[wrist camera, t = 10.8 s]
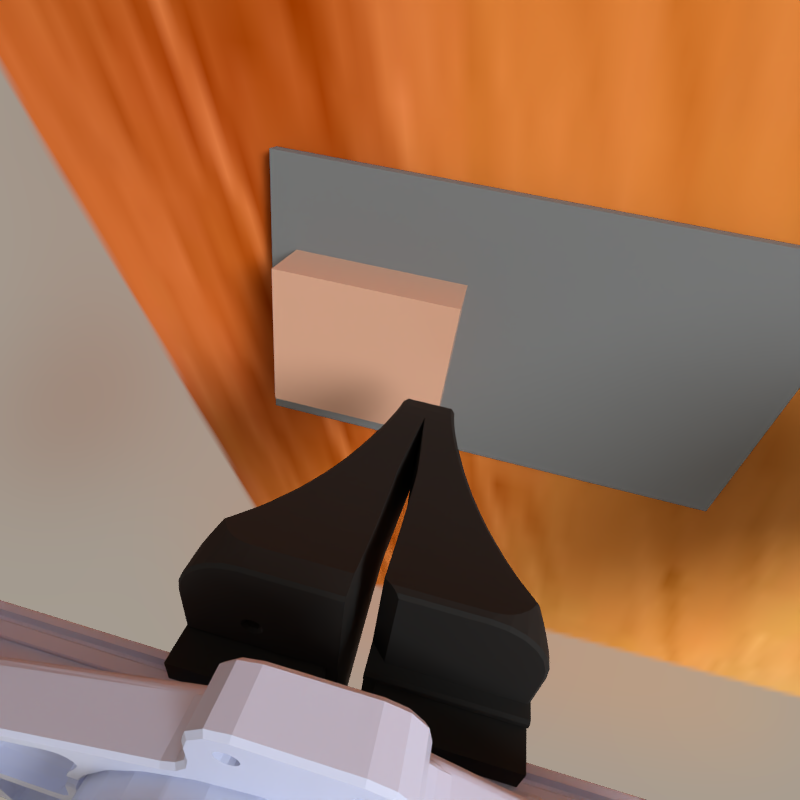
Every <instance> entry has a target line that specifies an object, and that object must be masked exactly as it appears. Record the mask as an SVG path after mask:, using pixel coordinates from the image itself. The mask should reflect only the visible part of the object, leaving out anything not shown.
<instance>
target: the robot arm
mask: <svg viewBox="0 0 800 800" xmlns="http://www.w3.org/2000/svg"><path fill="white" fill-rule="evenodd" d="M409 491H410V493H409ZM408 493H409V499H408V505H407V510H406V513H405V516H404V520H403V523H402V526H401V529H400V533H399V536H398V539H397V542H396V545H395V548H394V551H393V554H392V558H391V561H390V564H389V567H388V570H387V573H386V576H385V579H384V585H383V590H382V595H381V600H380V606H379V611H378V616H377V621H376V627H375V632H374V637H373V642H372V645H371V649H370V653H369V657H368V661H367V664H366V668H365V671H364V675H363V684H362V689H361V690H359V689H355V688H352V687H349V686H348V682H349V678H350V674H351V671H352V667H353V663H354V660H355V656H356V653H357V649H358V645H359V642H360V638H361V634H362V631H363V627H364V623H365V620H366V616H367V613H368V609H369V605H370V602H371V598H372V595H373V591H374V588H375V584H376V581H377V577H378V573H379V570H380V567H381V564H382V561H383V558H384V555H385V552H386V550H387V547H388V544H389V542H390V539H391V537H392V534H393V532H394V529H395V527H396V524H397V521H398V519H399V516H400V514H401V511H402V509H403V506H404V504H405V501H406V498H407V496H408ZM179 591H180V596H181V600H182V604H183V608H184V612H185V616H186V620H187V626H186V628H185V629H184V631H183V633H182V634H181V636H180V637H179V639H178V641H177V642H176V644H175V646H174V647H173V649H172V651H171V652H170V653H169V652H166V651H163V650H159V649H156V648H153V647H150V646H147V645H144V644H140V643H137V642H134V641H131V640H127V639H124V638H121V637H118V636H115V635H111V634H108V633H105V632H102V631H98V630H95V629H92V628H88V627H85V626H82V625H79V624H76V623H72V622H69V621H66V620H63V619H59V618H56V617H53V616H50V615H47V614H43V613H40V612H37V611H33V610H30V609H27V608H24V607H21V606H17V605H14V604H11V603H8V602H4V601H1V600H0V797H3V798H5V799H7V800H646V799H642V798H639V797H636V796H633V795H629V794H626V793H623V792H619V791H616V790H613V789H610V788H607V787H603V786H600V785H597V784H594V783H591V782H587V781H584V780H581V779H577V778H574V777H571V776H568V775H565V774H561V773H558V772H555V771H552V770H548V769H545V768H542V767H539V766H535V765H532V764H529V763H526V728H528V727H529V726H530V721H531V716H530V715H531V712H530V709H531V708H530V702H531V700H532V699H533V697H534V696H535V694H536V693H537V691H538V690H539V688H540V687H541V685H542V684H543V682H544V681H545V679H546V677H547V674H548V671H549V650H548V644H547V638H546V632H545V627H544V622H543V618H542V614H541V610H540V607H539V605H538V603H537V602H536V601H535V599H534V598H533V597H532V596H531V594H530V593H529V592H528V590H527V589H526V588H525V587H524V585H523V584H522V583H521V581H520V580H519V579H518V577H517V576H516V574H515V573H514V571H513V570H512V568H511V567H510V565H509V564H508V562H507V561H506V559H505V558H504V556H503V555H502V553H501V551H500V549H499V548H498V546H497V544H496V543H495V541H494V539H493V537H492V536H491V534H490V532H489V530H488V528H487V527H486V524H485V522H484V520H483V518H482V516H481V514H480V512H479V510H478V508H477V505H476V503H475V501H474V498H473V496H472V493H471V490H470V488H469V485H468V482H467V479H466V476H465V473H464V469H463V466H462V462H461V458H460V454H459V450H458V446H457V441H456V434H455V427H454V412H453V410H452V409H450V408H446V407H442V406H438V405H433V404H429V403H425V402H421V401H417V400H412V399H407V400H405V401H403V403H402V404H401V406H400V407H399V408H398V409H397V411H396V412H395V413H394V414H393V415H392V416H391V418H390V419H389V420H388V421H387V422H386V423H385V424H384V425H383V426H382V427H381V428H380V429H379V430H378V431H377V432H376V433H375V434H374V435H373V436H372V437H370V438H369V439H368V440H367V441H366V442H365V443H364V444H362V445H361V446H360V447H359V448H358V449H356V450H355V451H354V452H353V453H352V454H350V455H349V456H348V457H347V458H345V459H344V460H343V461H341V462H340V463H338V464H337V465H336V466H334V467H333V468H331V469H330V470H328V471H327V472H325V473H324V474H322V475H320V476H319V477H317V478H315V479H314V480H312V481H310V482H309V483H307V484H305V485H303V486H301V487H300V488H298V489H296V490H294V491H292V492H290V493H288V494H285V495H283V496H281V497H279V498H277V499H275V500H273V501H271V502H268V503H266V504H264V505H261V506H259V507H256V508H253V509H250V510H248V511H245V512H242V513H239V514H237V515H234V516H231V517H228V518H225V519H224V520H223V521H222V522H221V523H220V524H219V525H218V526H217V528H215V530H214V531H213V532H212V533H211V534H210V535H209V536H208V538H207V539H206V540H205V541H204V542H203V543H202V545H201V546H200V547H199V549H198V550H197V552H196V553H195V555H194V556H193V558H192V559H191V561H190V562H189V563H188V565H187V566H186V568H185V569H184V571H183V572H182V574H181V576H180V578H179Z"/></svg>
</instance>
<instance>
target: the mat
mask: <svg viewBox="0 0 800 800" xmlns="http://www.w3.org/2000/svg"><path fill="white" fill-rule="evenodd" d="M269 149H270V188H271V227H272V266H273V267H274V266H276V265H277V264H278V263H280V262H281V261H282V260H284V259H285V258H286V257H288V256H289V255H290V254H292V253H293V252H294V251H295V250H301V251H306V252H311V253H316V254H320V255H325V256H330V257H335V258H339V259H344V260H349V261H354V262H358V263H363V264H368V265H373V266H377V267H382V268H387V269H392V270H397V271H401V272H406V273H411V274H416V275H420V276H425V277H430V278H435V279H439V280H444V281H449V282H454V283H458V284H463V285H468V286H467V290H466V295H465V299H464V304H463V308H462V313H461V317H460V321H459V326H458V330H457V335H456V339H455V344H454V348H453V353H452V357H451V361H450V366H449V370H448V375H447V379H446V384H445V388H444V392H443V397H442V401H441V406H442V407H446V408H450V409H452V410H453V412H454V427H455V434H456V441H457V446H458V450H460V451H464V452H468V453H472V454H476V455H480V456H484V457H488V458H492V459H496V460H501V461H505V462H509V463H513V464H517V465H521V466H525V467H529V468H533V469H537V470H541V471H545V472H549V473H553V474H557V475H561V476H565V477H569V478H573V479H577V480H581V481H585V482H589V483H593V484H598V485H602V486H606V487H610V488H614V489H618V490H622V491H626V492H630V493H634V494H638V495H642V496H646V497H650V498H654V499H658V500H662V501H666V502H670V503H674V504H678V505H682V506H686V507H690V508H695V509H699V510H703V511H707V509H708V508H709V507H710V505H711V504H712V503H713V501H714V500H715V499H716V497H717V496H718V495H719V494H720V492H721V491H722V490H723V488H724V487H725V486H726V484H727V483H728V482H729V480H730V479H731V478H732V476H733V475H734V474H735V472H736V471H737V470H738V468H739V467H740V466H741V465H742V463H743V462H744V461H745V459H746V458H747V457H748V455H749V454H750V453H751V451H752V450H753V449H754V447H755V446H756V445H757V443H758V442H759V441H760V439H761V438H762V437H763V436H764V434H765V433H766V432H767V430H768V429H769V428H770V426H771V425H772V424H773V422H774V421H775V420H776V418H777V417H778V416H779V414H780V413H781V412H782V410H783V409H784V408H785V407H786V405H787V404H788V403H789V401H790V400H791V399H792V397H793V396H794V395H795V393H796V392H797V391H798V389H799V388H800V245H795V244H790V243H785V242H779V241H774V240H769V239H764V238H758V237H753V236H748V235H742V234H737V233H732V232H726V231H721V230H716V229H711V228H705V227H700V226H695V225H689V224H684V223H679V222H674V221H668V220H663V219H658V218H652V217H647V216H642V215H637V214H631V213H626V212H621V211H615V210H610V209H605V208H600V207H594V206H589V205H584V204H578V203H573V202H568V201H562V200H557V199H552V198H547V197H541V196H536V195H531V194H525V193H520V192H515V191H510V190H504V189H499V188H494V187H488V186H483V185H478V184H473V183H467V182H462V181H457V180H451V179H446V178H441V177H436V176H430V175H425V174H420V173H414V172H409V171H404V170H398V169H393V168H388V167H383V166H377V165H372V164H367V163H361V162H356V161H351V160H346V159H340V158H335V157H330V156H324V155H319V154H314V153H309V152H303V151H298V150H293V149H287V148H282V147H277V146H276V147H273V148H269ZM276 405H278V406H282V407H286V408H290V409H294V410H298V411H302V412H306V413H311V414H315V415H319V416H323V417H327V418H331V419H335V420H339V421H343V422H347V423H351V424H355V425H359V426H363V427H367V428H371V429H375V430H379V429H380V428H381V427H382V426H383V425H384V424H380V423H375V422H371V421H367V420H363V419H359V418H355V417H351V416H347V415H343V414H339V413H335V412H331V411H326V410H322V409H318V408H314V407H310V406H306V405H302V404H298V403H294V402H290V401H286V400H282V399H277V398H276Z"/></svg>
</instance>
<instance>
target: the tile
mask: <svg viewBox="0 0 800 800" xmlns="http://www.w3.org/2000/svg"><path fill="white" fill-rule="evenodd" d="M467 286H468V285H463V284H458V283H454V282H449V281H444V280H439V279H435V278H430V277H425V276H420V275H416V274H411V273H406V272H401V271H397V270H392V269H387V268H382V267H377V266H373V265H368V264H363V263H358V262H354V261H349V260H344V259H339V258H335V257H330V256H325V255H320V254H316V253H311V252H306V251H301V250H295V251H294V252H293V253H292V254H290V255H289V256H288V257H286V258H285V259H284V260H282V261H281V262H280V263H278V264H277V265H276V266H274V267H273V268H272V301H273V336H274V372H275V398H277V399H282V400H286V401H290V402H294V403H298V404H302V405H306V406H310V407H314V408H318V409H322V410H326V411H331V412H335V413H339V414H343V415H347V416H351V417H355V418H359V419H363V420H367V421H371V422H375V423H380V424H385V423H386V422H387V421H388V420H389V419H390V418H391V416H392V415H393V414H394V413H395V412H396V411H397V409H398V408H399V407H400V406H401V404H402V403H403V401H405V400H407V399H412V400H417V401H421V402H425V403H429V404H433V405H438V406H441V401H442V397H443V392H444V388H445V384H446V379H447V375H448V370H449V366H450V361H451V357H452V353H453V348H454V344H455V339H456V335H457V330H458V326H459V321H460V317H461V313H462V308H463V304H464V299H465V295H466V290H467Z"/></svg>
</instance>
